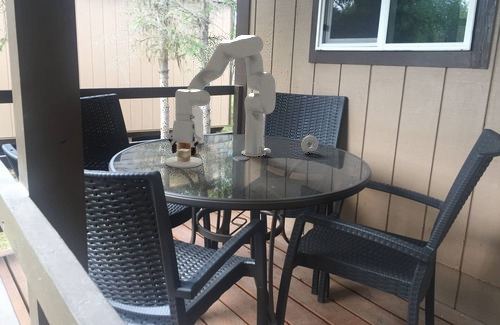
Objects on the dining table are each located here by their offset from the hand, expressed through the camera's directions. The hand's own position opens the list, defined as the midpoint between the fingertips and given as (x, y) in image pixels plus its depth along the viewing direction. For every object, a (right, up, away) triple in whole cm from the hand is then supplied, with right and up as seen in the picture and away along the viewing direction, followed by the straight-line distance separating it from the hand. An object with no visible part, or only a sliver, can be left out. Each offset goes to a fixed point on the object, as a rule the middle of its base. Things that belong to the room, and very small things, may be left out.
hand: (183, 154), depth 193 cm
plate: (0, -4, +1) cm, 4 cm away
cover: (-1, 0, +19) cm, 19 cm away
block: (0, -3, +1) cm, 3 cm away
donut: (+63, +1, +32) cm, 71 cm away
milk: (-4, +8, +50) cm, 51 cm away
